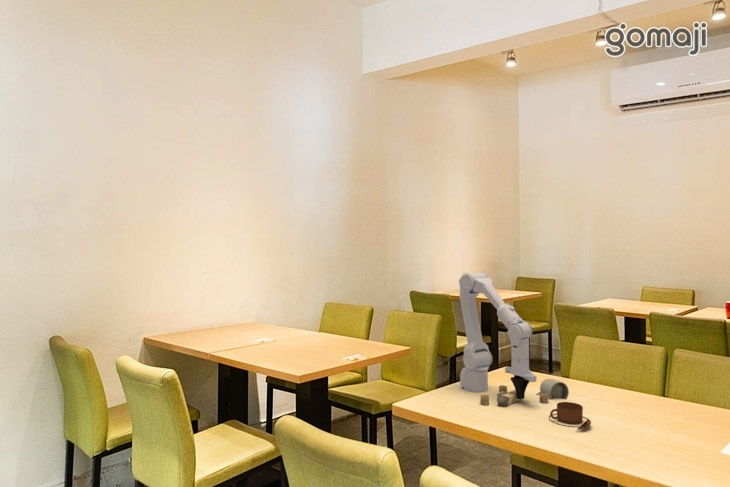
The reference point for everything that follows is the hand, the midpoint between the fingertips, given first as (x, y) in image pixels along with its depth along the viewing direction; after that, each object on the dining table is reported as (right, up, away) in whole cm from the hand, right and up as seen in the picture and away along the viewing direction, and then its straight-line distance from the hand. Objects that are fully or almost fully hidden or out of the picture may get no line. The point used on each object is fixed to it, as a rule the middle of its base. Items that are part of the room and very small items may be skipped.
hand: (520, 398), depth 182 cm
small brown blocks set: (-2, -3, -1) cm, 4 cm away
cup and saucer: (+10, -3, -18) cm, 21 cm away
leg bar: (-4, -1, -1) cm, 4 cm away
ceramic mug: (+12, -3, +7) cm, 14 cm away
